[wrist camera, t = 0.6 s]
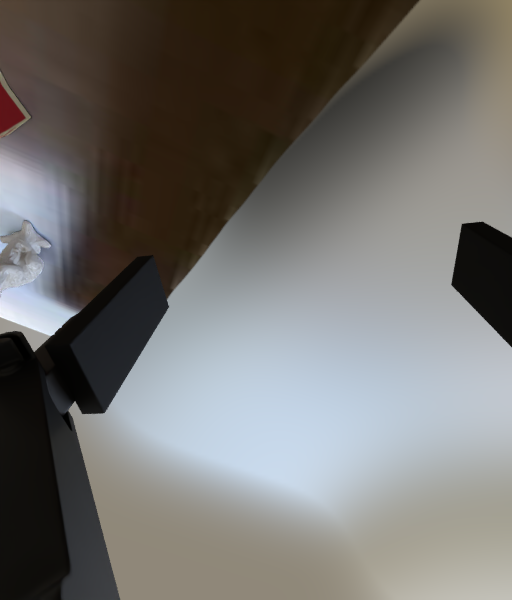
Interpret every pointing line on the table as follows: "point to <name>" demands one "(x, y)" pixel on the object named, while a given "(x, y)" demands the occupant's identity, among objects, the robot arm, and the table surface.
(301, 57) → the table surface
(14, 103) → the milk carton
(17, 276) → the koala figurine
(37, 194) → the table surface
